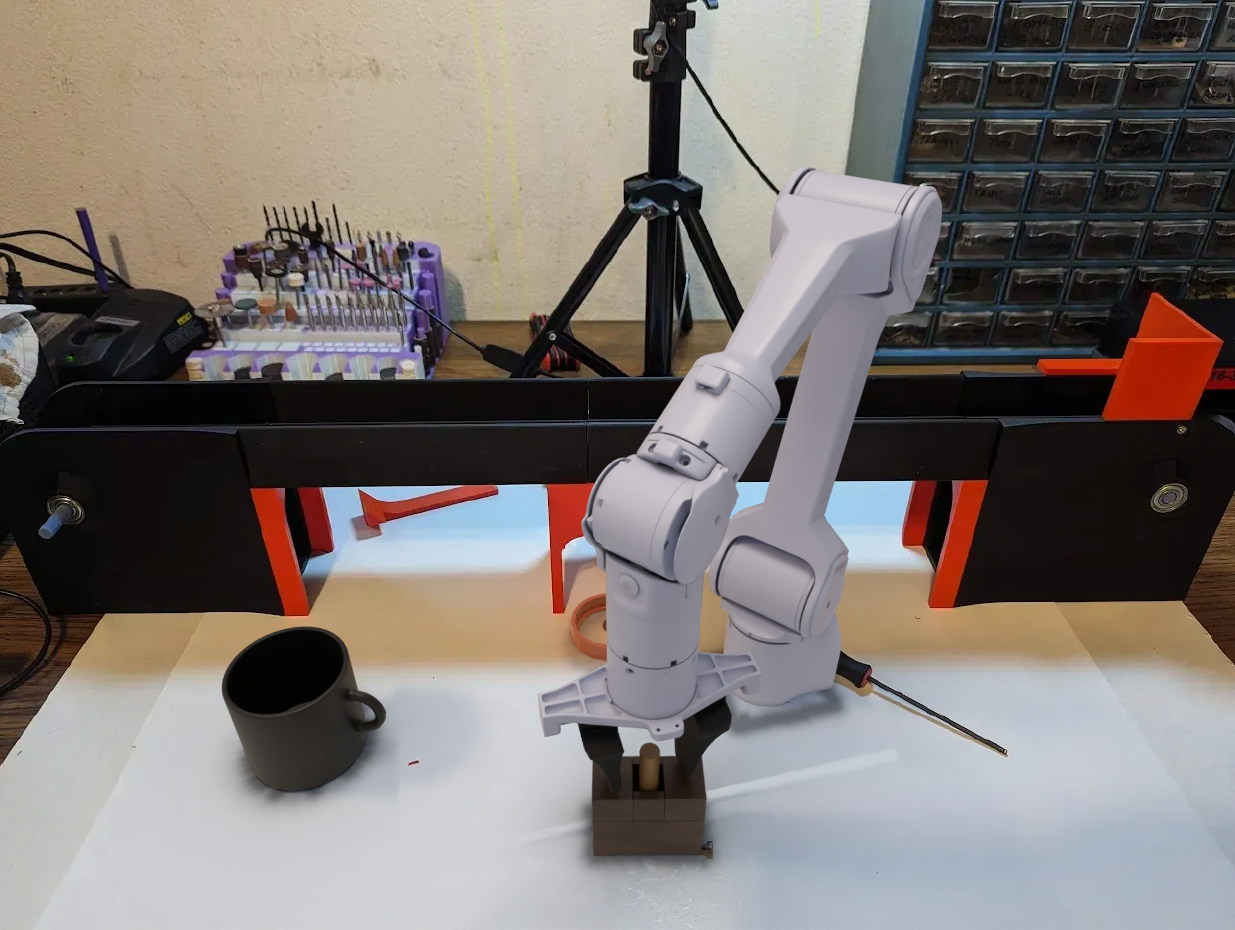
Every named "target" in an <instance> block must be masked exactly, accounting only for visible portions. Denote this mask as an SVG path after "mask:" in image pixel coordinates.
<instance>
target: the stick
mask: <svg viewBox="0 0 1235 930" xmlns="http://www.w3.org/2000/svg"><path fill="white" fill-rule="evenodd" d="M639 756H640V762H639V792H641V791H658V787H659V764H660V756H661V750H660V747H659V746H658V745H657V744H656V743H654V742H645V743H643V744H642V745H641V746H640V748H639Z"/></svg>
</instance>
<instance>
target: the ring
mask: <svg viewBox="0 0 1235 930" xmlns="http://www.w3.org/2000/svg"><path fill="white" fill-rule="evenodd" d="M600 612H606V592H605V593H599V594H598V593H597V594H594V595H592V596H589V597H587V598H585V599H584V600H582V601H581V602H579V603H578V604H577V605H576V607H575V608H574V610H573V611H572V613H571V619H570V633H571V638H572V642H573V644H574V646H575V647H576V648H577V649H578V650H579V651H580V652H581V653H582V654H584V655H586V656H588V657H590V658H592V659H595V660H600V661H606V662H607V644H604V643H599V642H594V641H592V640H590V639H588V638H587V637H585V636H584V635H583V634H582V633H581V632H580V630H581V626H582V624H583V623H584V622H585V620H586V619H587V618H589V617H591V616H592V615H594V614H597V613H600Z"/></svg>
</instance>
